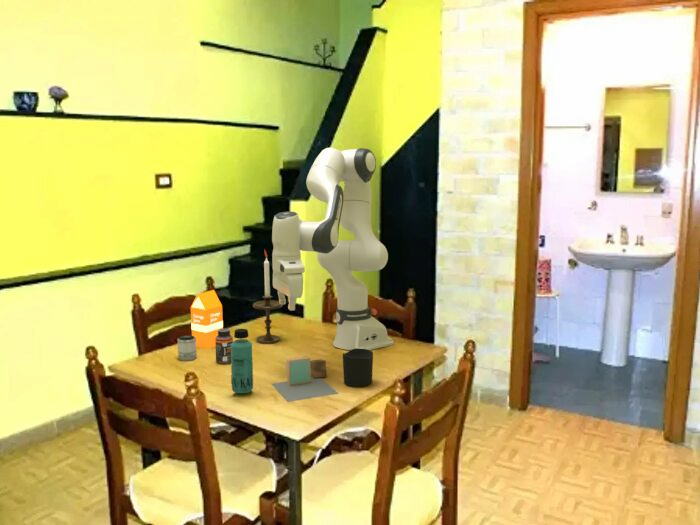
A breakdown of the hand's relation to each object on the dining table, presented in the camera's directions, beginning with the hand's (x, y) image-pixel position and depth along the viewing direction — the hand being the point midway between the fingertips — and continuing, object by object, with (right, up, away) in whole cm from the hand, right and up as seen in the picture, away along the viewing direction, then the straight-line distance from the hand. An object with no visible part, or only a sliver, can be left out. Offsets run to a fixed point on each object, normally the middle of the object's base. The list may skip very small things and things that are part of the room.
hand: (286, 307), depth 211 cm
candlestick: (-11, -16, +42) cm, 46 cm away
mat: (+6, -25, -9) cm, 27 cm away
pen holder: (+22, -24, -4) cm, 33 cm away
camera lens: (-37, -20, +21) cm, 47 cm away
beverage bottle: (-12, -25, -12) cm, 31 cm away
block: (+10, -22, +2) cm, 25 cm away
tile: (+4, -23, -4) cm, 24 cm away
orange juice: (-33, -17, +38) cm, 53 cm away
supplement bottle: (-23, -20, +18) cm, 35 cm away
